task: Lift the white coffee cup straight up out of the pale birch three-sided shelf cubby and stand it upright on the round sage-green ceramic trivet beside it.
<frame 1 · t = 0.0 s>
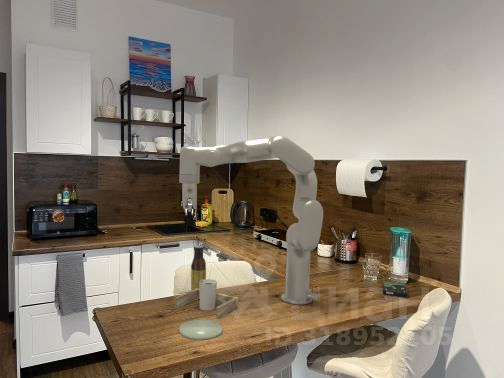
hand: (188, 223, 154), 31 cm above the worktop, tool pointing down, fingers open, 9 cm apart
sauce bottle: (198, 293, 169), on the worktop
disk drive: (394, 292, 181), on the worktop
trivet: (201, 330, 132), on the worktop
shelf cubby: (207, 307, 152), on the worktop
white coffee cup: (207, 308, 152), on the worktop
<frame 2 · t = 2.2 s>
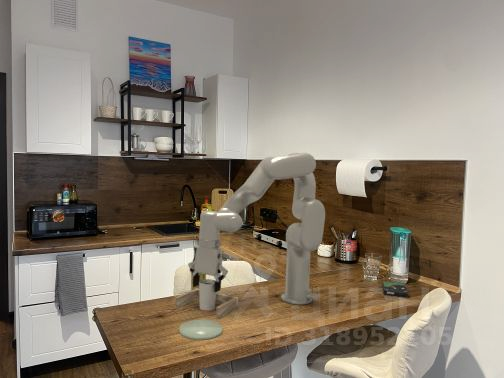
hand: (206, 288, 152), 7 cm above the worktop, tool pointing down, fingers open, 9 cm apart
nothing on the worktop moved.
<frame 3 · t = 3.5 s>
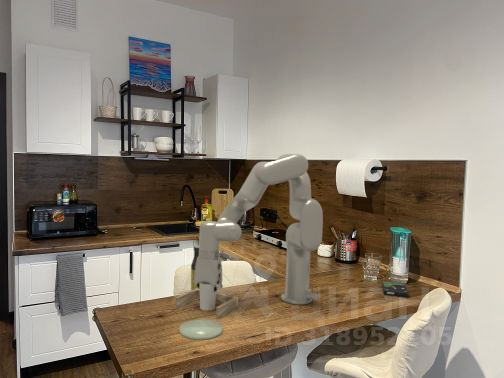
hand: (207, 301, 152), 2 cm above the worktop, tool pointing down, fingers closed on white coffee cup, 2 cm apart
white coffee cup: (207, 308, 152), on the worktop, touching gripper
everything else where it was.
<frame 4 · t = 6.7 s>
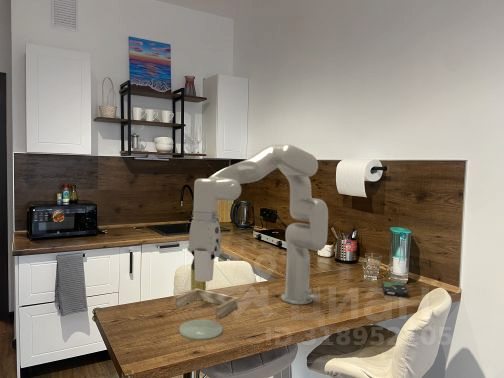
hand: (203, 272, 131), 19 cm above the worktop, tool pointing down, fingers closed on white coffee cup, 2 cm apart
white coffee cup: (203, 279, 131), point 17 cm above the worktop, touching gripper
everything else where it was.
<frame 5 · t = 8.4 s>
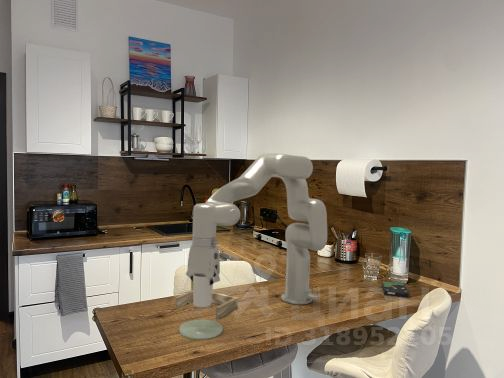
hand: (202, 297, 131), 11 cm above the worktop, tool pointing down, fingers closed on white coffee cup, 2 cm apart
white coffee cup: (202, 304, 131), point 9 cm above the worktop, touching gripper
everything else where it was.
when the fingers open (4 cm above the worktop, at t = 9.9 s): white coffee cup stays where it is, resting on trivet.
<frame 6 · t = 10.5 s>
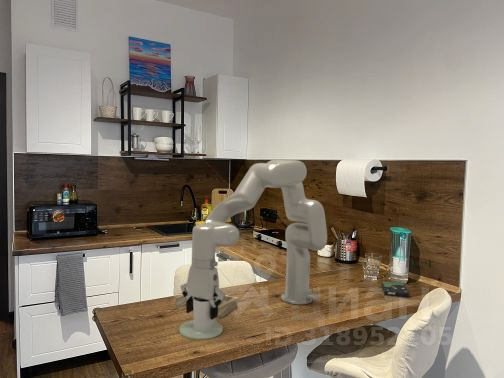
hand: (201, 314, 131), 5 cm above the worktop, tool pointing down, fingers open, 9 cm apart
white coffee cup: (202, 328, 131), point 1 cm above the worktop, touching trivet
everything else where it was.
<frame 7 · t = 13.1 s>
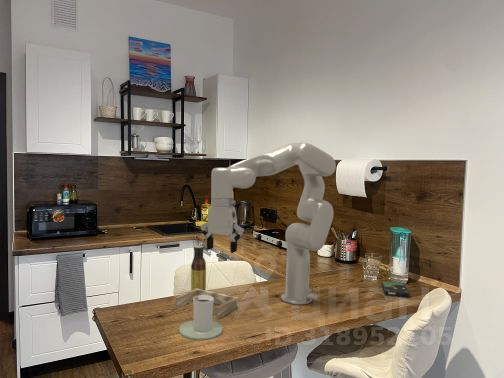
hand: (221, 250, 143), 24 cm above the worktop, tool pointing down, fingers open, 9 cm apart
nothing on the worktop moved.
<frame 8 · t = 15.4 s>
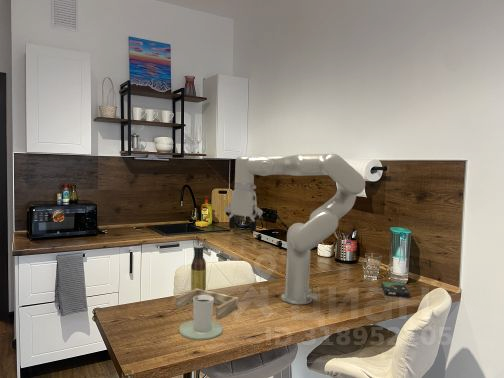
hand: (242, 229, 162), 28 cm above the worktop, tool pointing down, fingers open, 9 cm apart
nothing on the worktop moved.
at the end: white coffee cup inside the target area on the trivet (0.5 cm from its centre), point 0.6 cm above the trivet's base; white coffee cup tilted 0°; the gripper is holding nothing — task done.
